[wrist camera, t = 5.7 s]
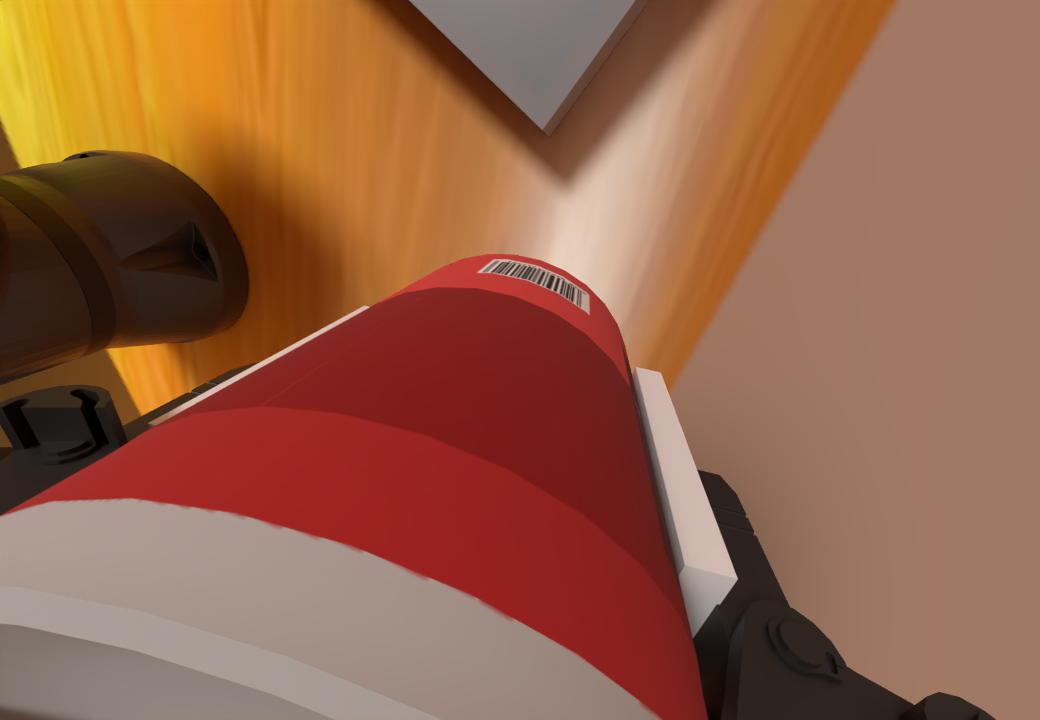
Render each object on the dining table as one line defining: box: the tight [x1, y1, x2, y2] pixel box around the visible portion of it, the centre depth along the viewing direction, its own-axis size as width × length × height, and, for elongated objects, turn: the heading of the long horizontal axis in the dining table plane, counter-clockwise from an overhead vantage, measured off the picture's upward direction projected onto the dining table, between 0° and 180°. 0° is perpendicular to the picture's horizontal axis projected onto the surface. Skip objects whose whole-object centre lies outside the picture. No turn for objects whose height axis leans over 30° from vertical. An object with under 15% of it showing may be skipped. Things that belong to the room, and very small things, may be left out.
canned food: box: [0, 254, 708, 720], centre depth 8 cm, size 8×8×11 cm
